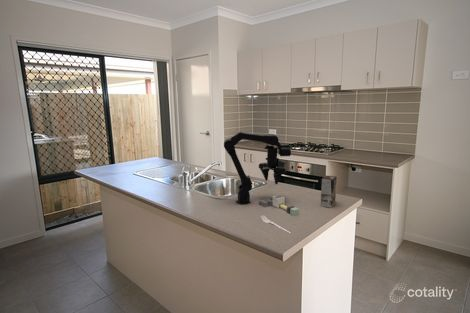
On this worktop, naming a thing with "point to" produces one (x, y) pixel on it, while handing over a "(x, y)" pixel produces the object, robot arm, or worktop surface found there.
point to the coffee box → (328, 191)
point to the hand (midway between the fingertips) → (271, 182)
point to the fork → (273, 223)
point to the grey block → (278, 200)
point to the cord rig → (269, 202)
